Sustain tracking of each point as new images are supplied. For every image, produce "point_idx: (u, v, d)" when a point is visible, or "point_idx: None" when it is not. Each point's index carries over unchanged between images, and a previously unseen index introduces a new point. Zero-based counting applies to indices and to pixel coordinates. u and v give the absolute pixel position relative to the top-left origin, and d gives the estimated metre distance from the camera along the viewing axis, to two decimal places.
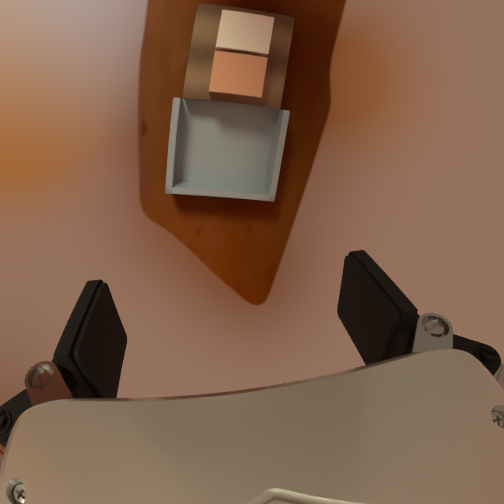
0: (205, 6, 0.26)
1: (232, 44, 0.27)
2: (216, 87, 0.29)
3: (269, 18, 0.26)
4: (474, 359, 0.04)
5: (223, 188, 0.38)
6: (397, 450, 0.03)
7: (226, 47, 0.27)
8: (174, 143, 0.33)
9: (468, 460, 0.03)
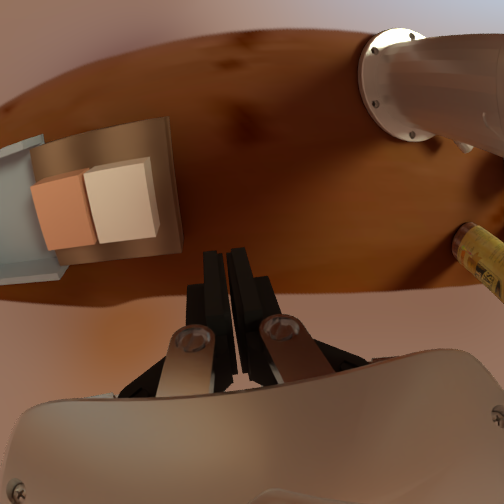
0: (160, 129, 0.21)
1: (93, 194, 0.20)
2: (36, 194, 0.19)
3: (151, 230, 0.22)
4: (474, 359, 0.04)
5: None
6: (397, 450, 0.03)
7: (87, 188, 0.20)
8: None
9: (468, 460, 0.03)
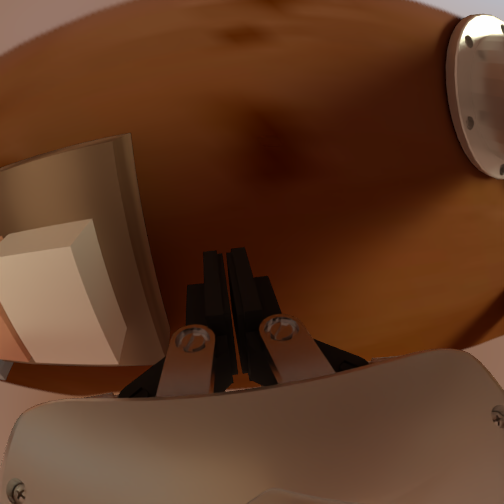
0: (106, 165, 0.10)
1: (4, 295, 0.09)
2: None
3: (109, 356, 0.11)
4: (474, 359, 0.04)
5: None
6: (397, 450, 0.03)
7: None
8: None
9: (468, 460, 0.03)
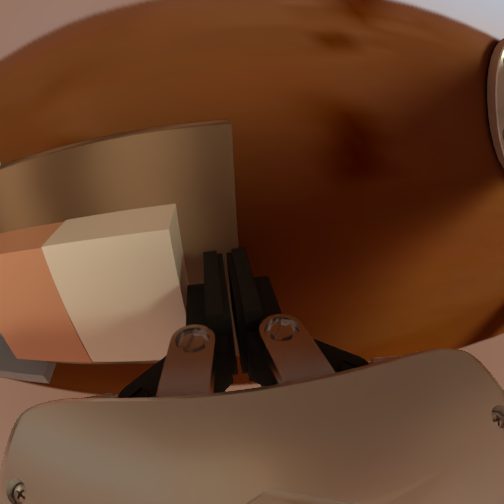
0: (222, 148, 0.11)
1: (67, 287, 0.10)
2: None
3: None
4: (474, 359, 0.04)
5: None
6: (397, 450, 0.03)
7: (54, 273, 0.09)
8: None
9: (468, 460, 0.03)
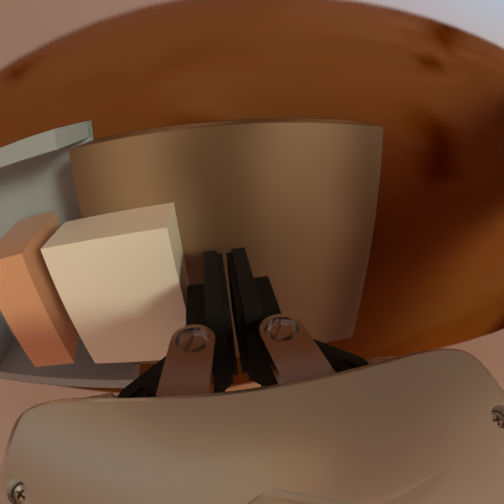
0: (375, 146, 0.11)
1: (67, 289, 0.10)
2: None
3: None
4: (474, 359, 0.04)
5: None
6: (397, 450, 0.03)
7: (54, 275, 0.09)
8: None
9: (468, 460, 0.03)
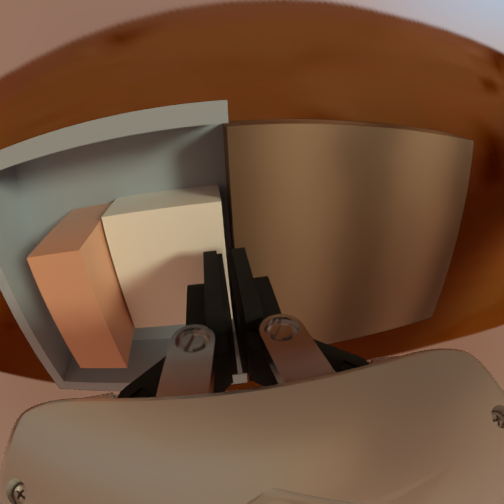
0: (468, 156, 0.12)
1: (122, 254, 0.12)
2: None
3: None
4: (474, 359, 0.04)
5: (28, 291, 0.12)
6: (397, 450, 0.03)
7: (110, 242, 0.12)
8: (71, 144, 0.09)
9: (468, 460, 0.03)
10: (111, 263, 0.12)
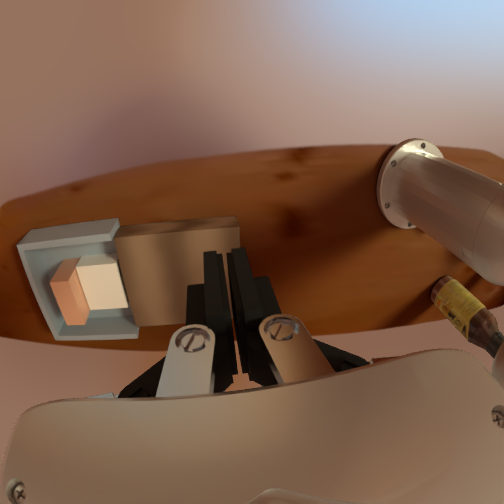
0: (236, 235, 0.31)
1: (83, 280, 0.29)
2: None
3: (124, 304, 0.32)
4: (474, 359, 0.04)
5: (45, 293, 0.29)
6: (397, 450, 0.03)
7: (79, 275, 0.29)
8: (63, 244, 0.26)
9: (468, 460, 0.03)
10: (80, 283, 0.30)
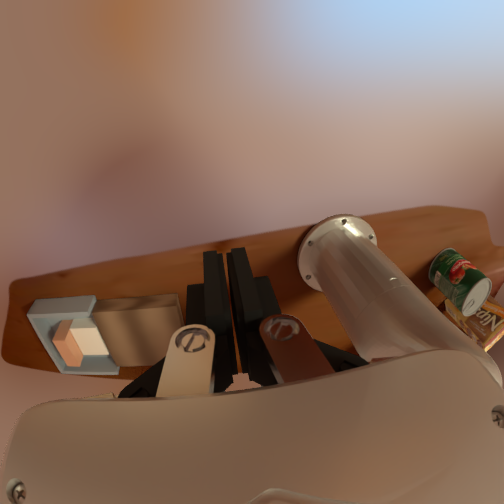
0: (174, 311, 0.40)
1: (76, 337, 0.40)
2: None
3: (106, 352, 0.42)
4: (474, 359, 0.04)
5: (50, 343, 0.40)
6: (397, 450, 0.03)
7: (72, 333, 0.39)
8: (58, 316, 0.36)
9: (468, 460, 0.03)
10: None
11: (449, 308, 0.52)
